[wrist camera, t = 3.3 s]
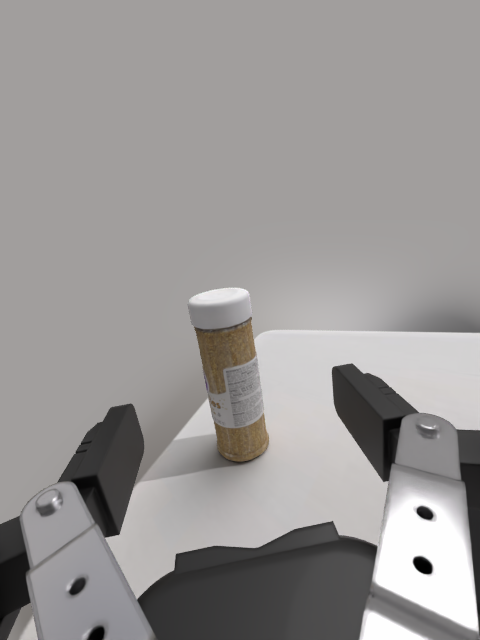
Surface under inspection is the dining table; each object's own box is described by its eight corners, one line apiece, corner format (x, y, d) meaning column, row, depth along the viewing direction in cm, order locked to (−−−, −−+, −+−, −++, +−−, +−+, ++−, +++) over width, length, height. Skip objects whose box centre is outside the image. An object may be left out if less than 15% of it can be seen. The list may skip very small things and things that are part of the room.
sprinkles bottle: (211, 438, 27) (180, 295, 23) (256, 420, 29) (235, 283, 24) (228, 473, 23) (195, 307, 19) (280, 450, 25) (259, 291, 20)
